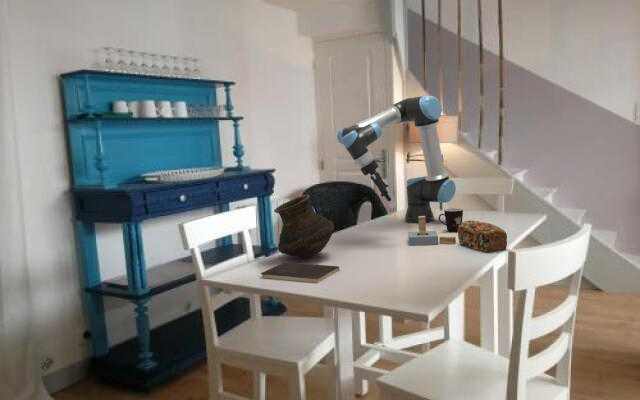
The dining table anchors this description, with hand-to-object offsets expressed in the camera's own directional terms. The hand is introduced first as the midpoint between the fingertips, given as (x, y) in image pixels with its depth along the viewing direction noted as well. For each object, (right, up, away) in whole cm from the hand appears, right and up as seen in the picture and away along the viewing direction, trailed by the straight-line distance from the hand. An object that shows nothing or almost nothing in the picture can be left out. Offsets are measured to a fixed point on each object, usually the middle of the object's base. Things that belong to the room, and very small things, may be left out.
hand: (393, 203), depth 229 cm
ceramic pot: (-37, -22, -19) cm, 47 cm away
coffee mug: (+29, -13, +14) cm, 35 cm away
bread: (+32, -17, -21) cm, 42 cm away
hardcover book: (-39, -25, -44) cm, 64 cm away
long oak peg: (+12, -16, -5) cm, 21 cm away
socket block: (+12, -16, -5) cm, 21 cm away
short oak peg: (+21, -17, -11) cm, 29 cm away
